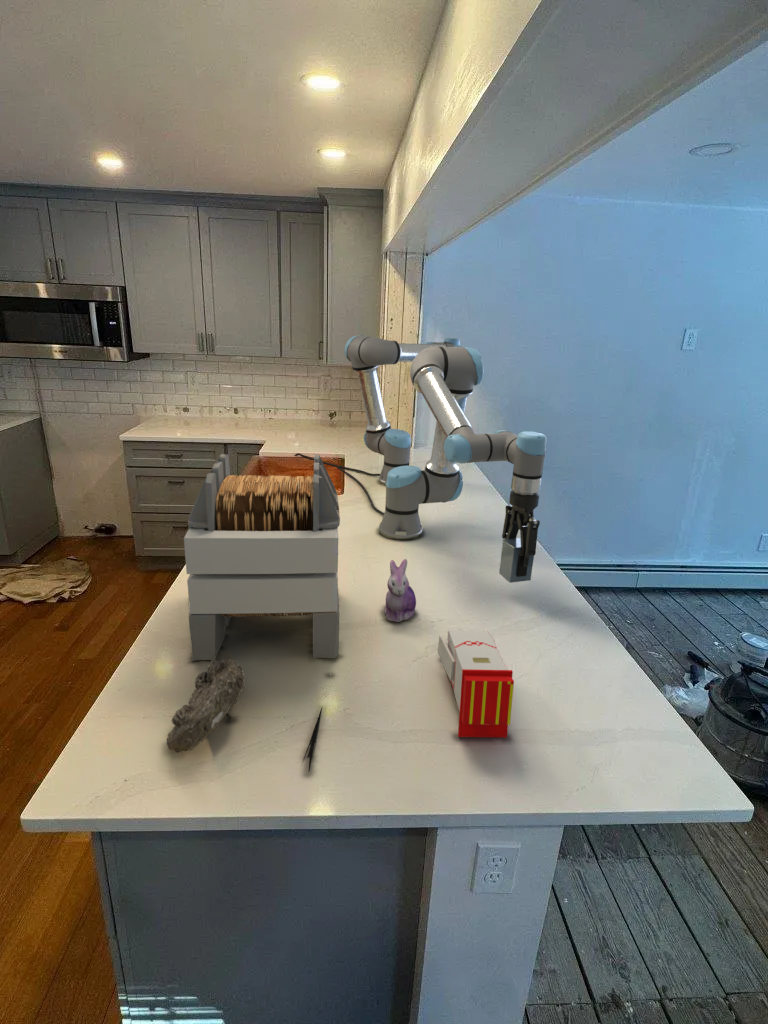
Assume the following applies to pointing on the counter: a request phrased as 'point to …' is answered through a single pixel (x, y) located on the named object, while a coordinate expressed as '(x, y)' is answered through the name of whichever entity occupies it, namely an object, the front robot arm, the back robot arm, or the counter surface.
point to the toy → (478, 682)
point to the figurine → (399, 594)
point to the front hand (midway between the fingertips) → (514, 570)
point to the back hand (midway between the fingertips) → (446, 415)
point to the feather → (313, 740)
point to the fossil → (206, 705)
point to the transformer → (263, 554)
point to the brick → (513, 561)
